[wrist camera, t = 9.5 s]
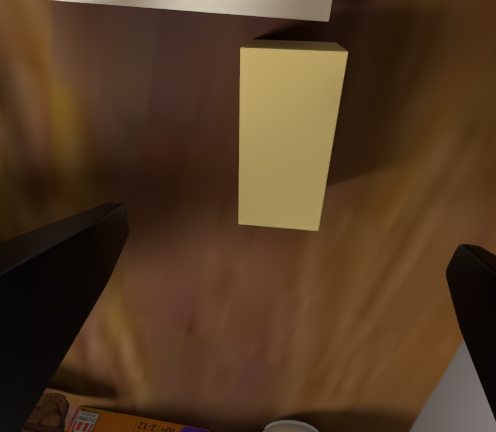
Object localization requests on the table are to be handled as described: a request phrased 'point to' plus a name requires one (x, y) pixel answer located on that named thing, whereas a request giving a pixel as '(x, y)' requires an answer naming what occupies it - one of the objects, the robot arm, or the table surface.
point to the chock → (287, 129)
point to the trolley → (237, 7)
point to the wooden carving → (48, 414)
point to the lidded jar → (289, 426)
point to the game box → (121, 423)
